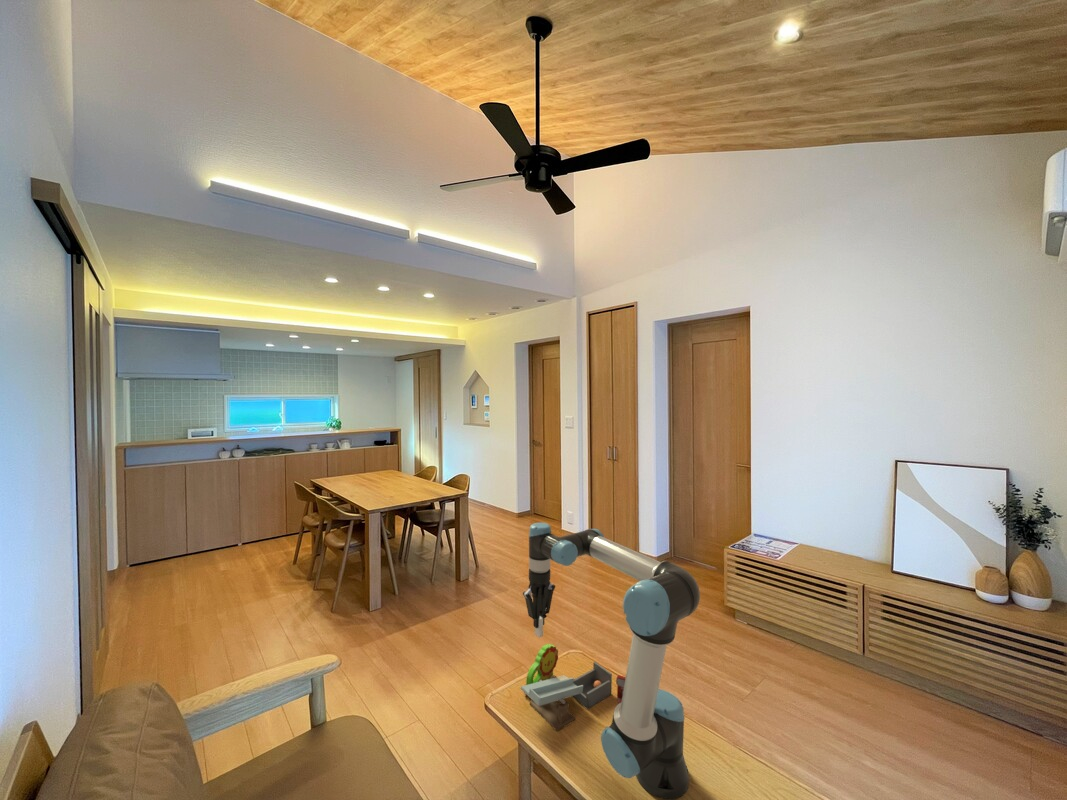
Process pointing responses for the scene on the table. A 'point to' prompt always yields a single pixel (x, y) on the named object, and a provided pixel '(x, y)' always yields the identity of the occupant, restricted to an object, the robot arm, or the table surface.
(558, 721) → the stand
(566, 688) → the lever
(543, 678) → the toy lion
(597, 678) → the pulled-out tray drawer
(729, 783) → the table surface
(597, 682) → the ball
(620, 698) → the toy fire truck
